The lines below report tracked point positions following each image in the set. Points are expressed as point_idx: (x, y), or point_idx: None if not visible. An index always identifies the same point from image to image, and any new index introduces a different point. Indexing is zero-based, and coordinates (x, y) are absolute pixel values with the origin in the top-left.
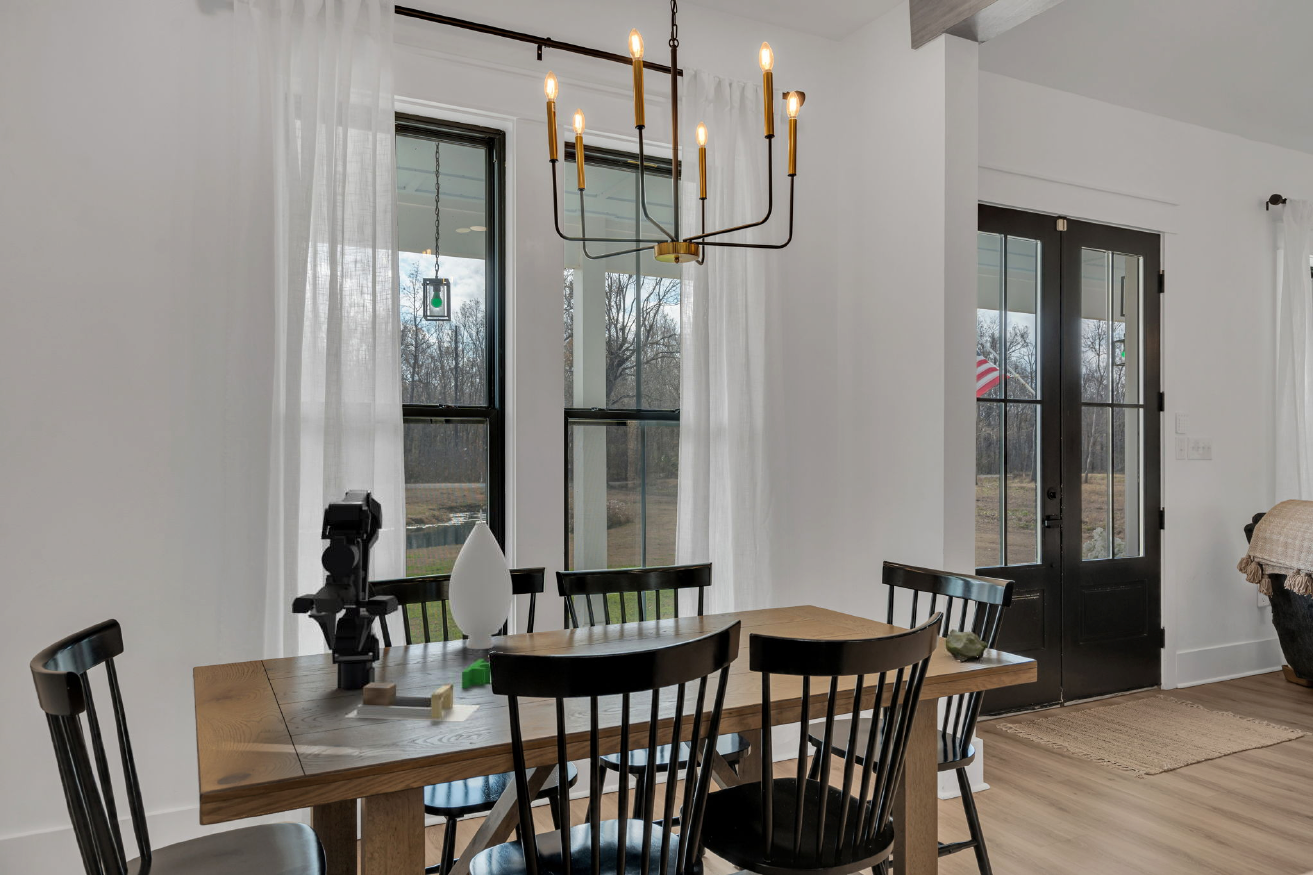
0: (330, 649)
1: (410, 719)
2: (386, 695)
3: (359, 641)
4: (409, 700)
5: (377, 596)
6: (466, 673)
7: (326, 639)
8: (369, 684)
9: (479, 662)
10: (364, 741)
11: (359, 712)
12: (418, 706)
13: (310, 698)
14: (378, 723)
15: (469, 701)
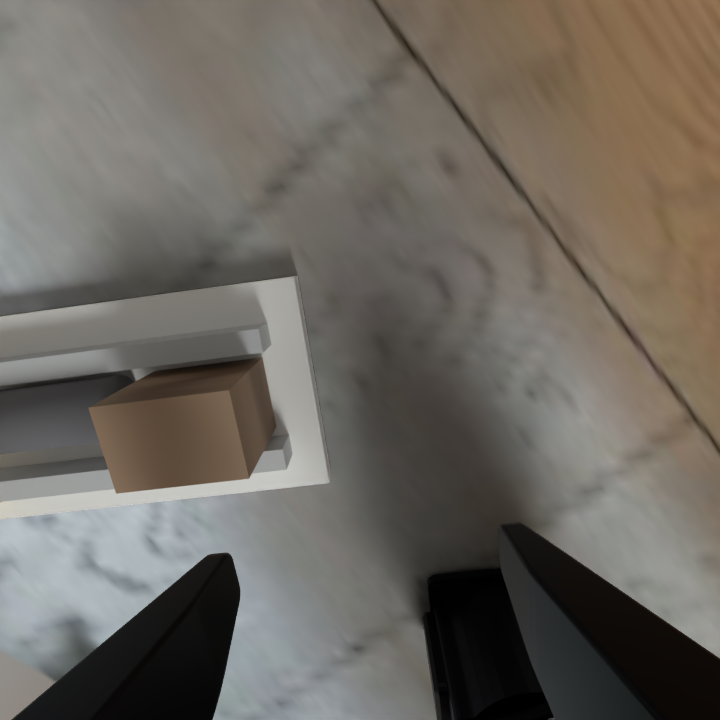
0: (505, 524)
1: (15, 316)
2: (123, 392)
3: (128, 624)
4: (32, 402)
5: None
6: None
7: (601, 590)
8: (232, 444)
9: None
10: (58, 67)
11: (253, 325)
12: (2, 390)
13: (605, 507)
14: None
15: (29, 596)
